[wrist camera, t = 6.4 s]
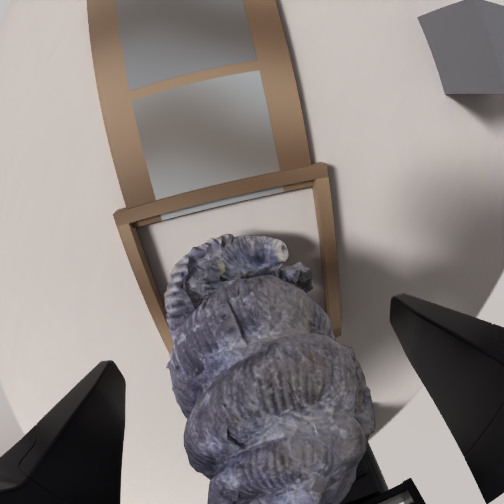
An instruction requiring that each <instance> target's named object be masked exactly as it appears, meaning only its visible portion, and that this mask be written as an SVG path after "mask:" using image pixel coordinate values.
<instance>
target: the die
mask: <svg viewBox="0 0 504 504" xmlns="http://www.w3.org/2000/svg"><path fill="white" fill-rule="evenodd" d="M417 18H418V20H419V22H420V25H421V27H422V29H423V32H424V34H425V36H426V39H427V41H428V44H429V47H430V49H431V52H432V55H433V58H434V60H435V63H436V66H437V69H438V72H439V76H440V79H441V82H442V85H443V89H444V92H445V94H504V6H502V5H498V4H495V3H492V2H488V1H484V0H464V1H460V2H457V3H454V4H452V5H449V6H446V7H443V8H440V9H438V10H435V11H432V12H430V13H427V14H425V15H422V16H420V17H417Z"/></svg>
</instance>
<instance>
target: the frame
mask: <svg viewBox="0 0 504 504" xmlns="http://www.w3.org/2000/svg"><path fill="white" fill-rule="evenodd" d="M310 180H314V186H312V187H313V194H314V201H315V209H316V216H317V224H318V232H319V240H320V249H321V259H322V268H323V279H324V290H325V302H326V313H327V315H328V317H329V318H330V320H331V322H332V330H333V333H334V336H335V337H337V336H340V335H341V314H340V292H339V275H338V261H337V249H336V238H335V227H334V218H333V209H332V200H331V192H330V184H329V177H328V169H327V164H326V163H322V162H319V163H313V164H311V165H309V166H303V167H298V168H292V169H287V170H282V171H277V172H272V173H267V174H262V175H257V176H252V177H248V178H243V179H239V180H234V181H230V182H225V183H221V184H217V185H213V186H208V187H204V188H200V189H196V190H192V191H188V192H184V193H181V194H177V195H173V196H169V197H166V198H162V199H158V200H155V201H151V202H148V203H144V204H141V205H137V206H134V207H130V208H127V207H126V208H123V209H119V210H117V211H116V212H115V213H114V214H113V216H114V219H115V222H116V225H117V228H118V231H119V234H120V237H121V240H122V243H123V246H124V248H125V251H126V254H127V257H128V259H129V262H130V265H131V267H132V270H133V272H134V275H135V277H136V280H137V282H138V285H139V287H140V290H141V292H142V295H143V297H144V299H145V302H146V304H147V306H148V309H149V311H150V313H151V316H152V318H153V320H154V322H155V324H156V327H157V329H158V331H159V333H160V335H161V337H162V339H163V342H164V344H165V346H166V348H167V350H168V352H169V354H171V352H172V350H173V345H174V344H173V341H172V337H171V335H170V332H169V325H168V322H167V320H166V319H167V317H166V314H167V312H166V309H165V306H164V304H163V301H162V299H161V296H160V294H159V291H158V289H157V286H156V284H155V281H154V278H153V276H152V273H151V270H150V268H149V265H148V262H147V259H146V257H145V254H144V251H143V248H142V245H141V242H140V239H139V236H138V233H137V230H136V228H133V226H132V223H131V222H135V221H139V220H142V219H146V218H149V217H153V216H157V215H160V214H164V213H168V212H172V211H176V210H179V209H183V208H187V207H191V206H195V205H199V204H203V203H207V202H212V201H216V200H220V199H224V198H229V197H233V196H237V195H242V194H246V193H251V192H255V191H260V190H265V189H269V188H274V187H279V186H284V185H289V184H294V183H299V182H304V181H310Z"/></svg>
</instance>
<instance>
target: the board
mask: <svg viewBox="0 0 504 504" xmlns="http://www.w3.org/2000/svg"><path fill="white" fill-rule="evenodd" d="M87 11H88V23H89V33H90V42H91V50H92V57H93V64H94V71H95V77H96V83H97V89H98V94H99V100H100V105H101V110H102V115H103V119H104V124H105V129H106V133H107V137H108V142H109V146H110V150H111V154H112V158H113V162H114V165H115V169H116V173H117V177H118V180H119V184H120V187H121V191H122V194H123V198H124V201H125V204H126V207H127V208H130V207H134V206H137V205H141V204H144V203H148V202H151V201H155V200H158V199H162V198H166V197H169V196H173V195H177V194H181V193H184V192H188V191H192V190H196V189H200V188H204V187H208V186H213V185H217V184H221V183H225V182H230V181H234V180H239V179H243V178H248V177H252V176H257V175H262V174H267V173H272V172H277V171H282V170H287V169H292V168H298V167H303V166H309V165H311V160H310V154H309V148H308V142H307V136H306V131H305V125H304V120H303V115H302V110H301V105H300V100H299V95H298V90H297V85H296V81H295V76H294V72H293V67H292V63H291V58H290V54H289V50H288V46H287V42H286V38H285V34H284V30H283V26H282V23H281V19H280V15H279V12H278V8H277V4H276V1H275V0H87ZM311 186H314V180H310V181H304V182H299V183H294V184H289V185H284V186H279V187H274V188H269V189H265V190H260V191H255V192H251V193H246V194H242V195H237V196H233V197H229V198H224V199H220V200H216V201H212V202H207V203H203V204H199V205H195V206H191V207H187V208H183V209H179V210H176V211H172V212H168V213H164V214H160V215H157V216H153V217H149V218H146V219H142V220H139V221H135V222H131V223H132V226H133V228H136V227H140V226H143V225H147V224H151V223H154V222H158V221H162V220H166V219H170V218H174V217H177V216H181V215H185V214H189V213H193V212H197V211H201V210H205V209H210V208H214V207H218V206H222V205H227V204H231V203H235V202H240V201H244V200H248V199H253V198H258V197H262V196H267V195H272V194H276V193H281V192H286V191H291V190H296V189H301V188H306V187H311Z"/></svg>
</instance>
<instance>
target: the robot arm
mask: <svg viewBox="0 0 504 504" xmlns="http://www.w3.org/2000/svg"><path fill="white" fill-rule="evenodd" d="M390 323H391V325H392V327H393V329H394V331H395V333H396V335H397V337H398V339H399V341H400V343H401V345H402V347H403V349H404V351H405V354H406V356H407V357H408V359H409V361H410V363H411V365H412V366H413V368H414V369H415V371H416V373H417V374H418V376H419V378H420V379H421V381H422V383H423V384H424V386H425V387H426V389H427V391H428V392H429V394H430V396H431V397H432V399H433V401H434V403H435V404H436V406H437V408H438V410H439V411H440V413H441V415H442V417H443V418H444V420H445V422H446V424H447V426H448V427H449V429H450V431H451V433H452V435H453V436H454V438H455V440H456V442H457V444H458V446H459V448H460V450H461V452H462V454H463V456H464V457H465V460H466V462H467V464H468V466H469V468H470V470H471V472H472V474H473V476H474V478H475V480H476V483H477V484H478V487H479V489H480V491H481V493H482V495H483V498H484V500H485V502H486V504H488V503H490V502H491V501H493V500H494V499H496V498H497V497H498V496H500V495H501V494H502V493H504V327H501V326H498V325H495V324H493V325H492V324H491V323H489V322H486V321H483V320H480V319H478V318H475V317H472V316H469V315H466V314H463V313H460V312H457V311H454V310H451V309H448V308H446V307H443V306H440V305H437V304H434V303H431V302H428V301H425V300H422V299H419V298H416V297H413V296H410V295H407V294H404V293H402V294H399V295H396V296H393V297H392V299H391V306H390ZM125 391H126V383H125V379H124V377H123V375H122V374H121V372H120V370H119V369H118V367H117V366H116V364H115V363H114V362H113V361H111V360H108V361H102V362H100V363H99V364H98V365H97V366H96V367H95V368H94V369H93V370H92V371H91V372H89V373H88V374H87V375H86V376H85V377H84V378H83V379H82V380H81V381H80V382H79V383H78V384H77V385H76V386H75V387H74V388H73V389H72V390H71V391H70V392H69V393H68V394H67V395H66V396H65V397H64V398H63V399H61V400H60V401H59V402H58V403H57V404H56V405H55V406H54V407H53V408H52V409H51V410H50V411H49V412H48V413H47V414H46V415H45V416H44V417H43V418H42V419H41V420H40V421H39V422H38V423H37V425H35V426H34V427H33V428H32V429H31V430H30V431H29V432H28V433H27V434H26V435H25V436H24V437H23V438H22V439H21V440H20V441H19V442H17V443H16V444H15V445H14V446H13V447H12V448H11V449H9V450H8V451H7V452H6V453H5V454H4V455H3V456H1V457H0V504H120V490H121V468H122V453H123V441H124V430H125ZM368 438H369V435H367V436H366V451H365V453H364V455H363V457H362V459H361V460H360V462H359V464H358V466H357V469H356V479H355V481H354V482H353V484H352V485H351V488H350V491H349V492H348V493H347V495H346V496H345V498H344V499H343V500H342V502H341V503H340V504H399V503H401V502H404V504H426V503H425V502H424V500H423V498H422V497H421V495H420V493H419V491H418V489H417V488H416V486H415V484H414V482H413V481H412V479H411V478H409V479H407V480H406V481H404V482H403V483H402V484H400V485H398V486H396V487H394V488H392V489H390V490H389V489H388V487H387V485H386V482H385V480H384V477H383V475H382V473H381V471H380V468H379V466H378V464H377V461H376V459H375V457H374V455H373V452H372V450H371V448H370V446H369V443H368Z"/></svg>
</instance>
